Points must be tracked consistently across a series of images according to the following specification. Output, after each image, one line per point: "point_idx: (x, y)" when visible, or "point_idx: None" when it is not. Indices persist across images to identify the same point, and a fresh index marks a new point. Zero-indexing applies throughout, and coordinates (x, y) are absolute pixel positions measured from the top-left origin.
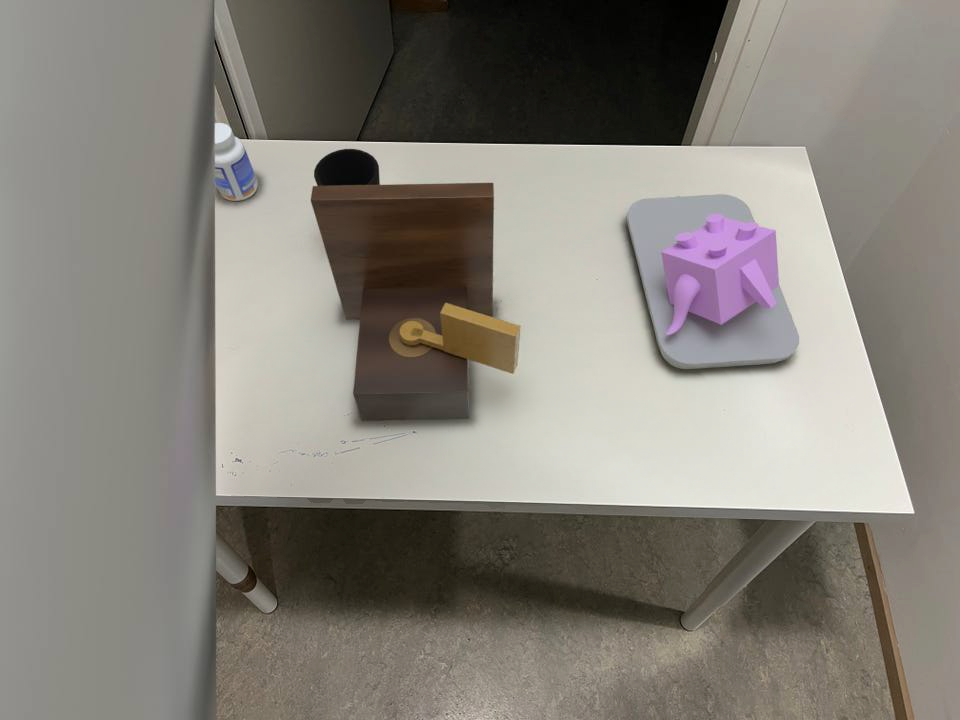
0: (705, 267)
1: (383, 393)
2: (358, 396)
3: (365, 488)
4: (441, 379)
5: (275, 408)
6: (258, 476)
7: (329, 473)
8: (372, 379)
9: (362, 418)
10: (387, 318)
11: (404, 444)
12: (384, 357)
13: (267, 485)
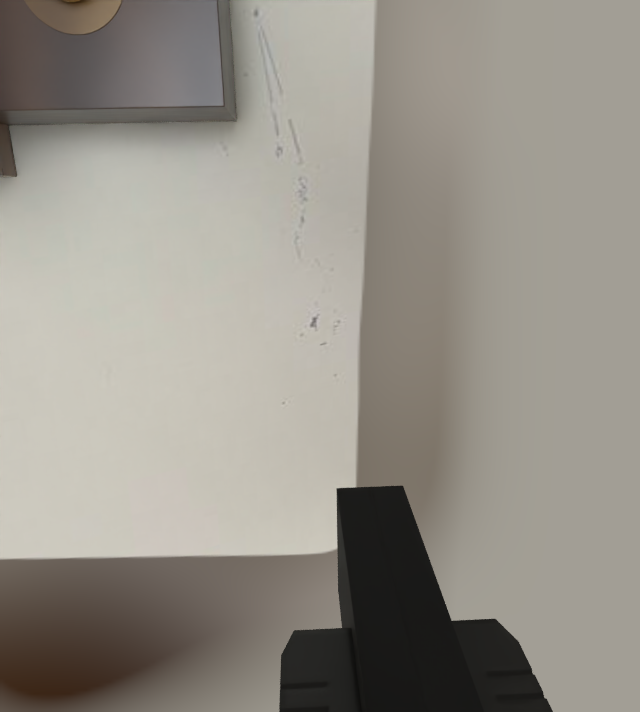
0: None
1: (219, 37)
2: (225, 97)
3: (364, 101)
4: None
5: (219, 280)
6: (341, 286)
7: (337, 169)
8: (187, 66)
9: (235, 117)
10: (25, 42)
11: (281, 32)
12: (130, 42)
13: (356, 269)
